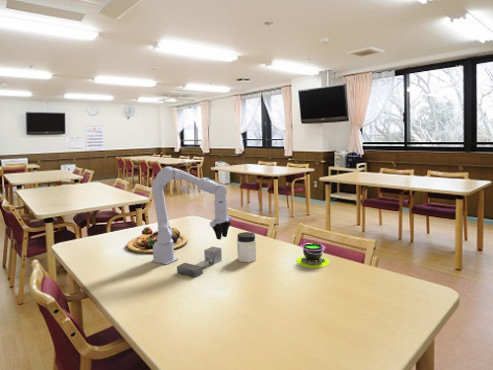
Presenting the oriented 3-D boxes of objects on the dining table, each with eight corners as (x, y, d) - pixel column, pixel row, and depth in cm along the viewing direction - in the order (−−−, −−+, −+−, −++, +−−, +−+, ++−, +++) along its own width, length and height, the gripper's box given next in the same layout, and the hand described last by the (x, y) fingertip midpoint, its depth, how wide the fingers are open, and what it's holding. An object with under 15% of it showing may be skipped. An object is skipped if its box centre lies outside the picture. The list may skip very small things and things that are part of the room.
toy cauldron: (315, 270, 147) (315, 245, 146) (289, 261, 158) (289, 238, 157) (336, 262, 157) (336, 238, 155) (310, 254, 168) (310, 231, 166)
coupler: (177, 273, 148) (176, 266, 147) (197, 263, 159) (197, 256, 159) (195, 277, 142) (194, 270, 142) (215, 267, 154) (215, 260, 153)
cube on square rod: (204, 262, 159) (204, 250, 159) (212, 258, 164) (212, 246, 164) (213, 264, 157) (213, 251, 156) (221, 260, 162) (221, 248, 161)
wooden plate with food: (123, 241, 196) (122, 227, 195) (179, 233, 210) (178, 219, 208) (130, 260, 168) (129, 243, 166) (194, 249, 181) (193, 233, 180)
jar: (246, 264, 156) (245, 238, 155) (233, 259, 162) (233, 234, 161) (259, 258, 162) (259, 234, 161) (247, 254, 168) (247, 230, 167)
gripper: (218, 213, 155) (219, 243, 157) (236, 207, 167) (237, 235, 169) (205, 212, 159) (207, 241, 161) (224, 206, 171) (225, 233, 173)
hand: (221, 237), depth 165 cm, fingers open, 4 cm apart
